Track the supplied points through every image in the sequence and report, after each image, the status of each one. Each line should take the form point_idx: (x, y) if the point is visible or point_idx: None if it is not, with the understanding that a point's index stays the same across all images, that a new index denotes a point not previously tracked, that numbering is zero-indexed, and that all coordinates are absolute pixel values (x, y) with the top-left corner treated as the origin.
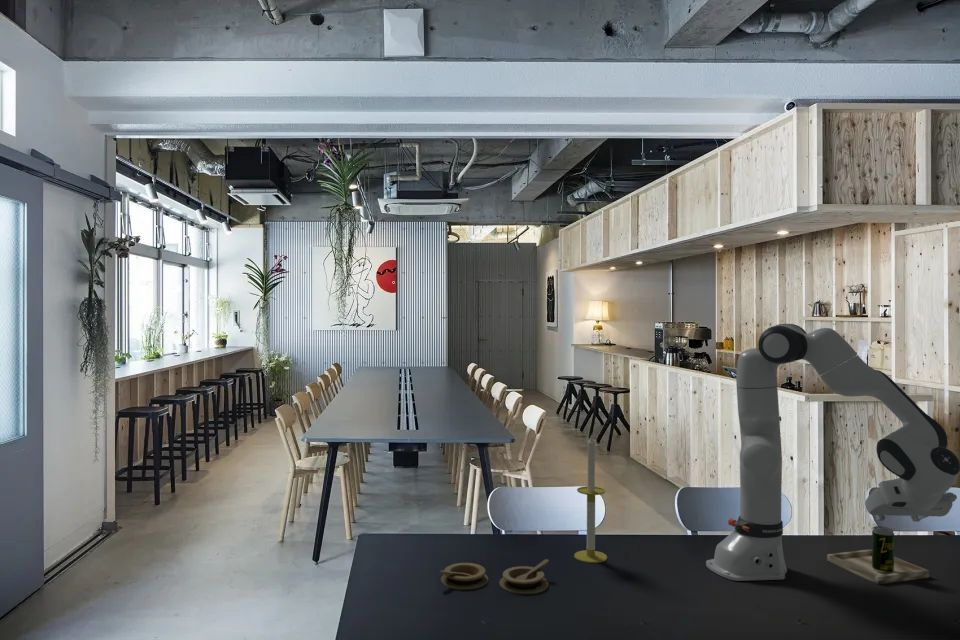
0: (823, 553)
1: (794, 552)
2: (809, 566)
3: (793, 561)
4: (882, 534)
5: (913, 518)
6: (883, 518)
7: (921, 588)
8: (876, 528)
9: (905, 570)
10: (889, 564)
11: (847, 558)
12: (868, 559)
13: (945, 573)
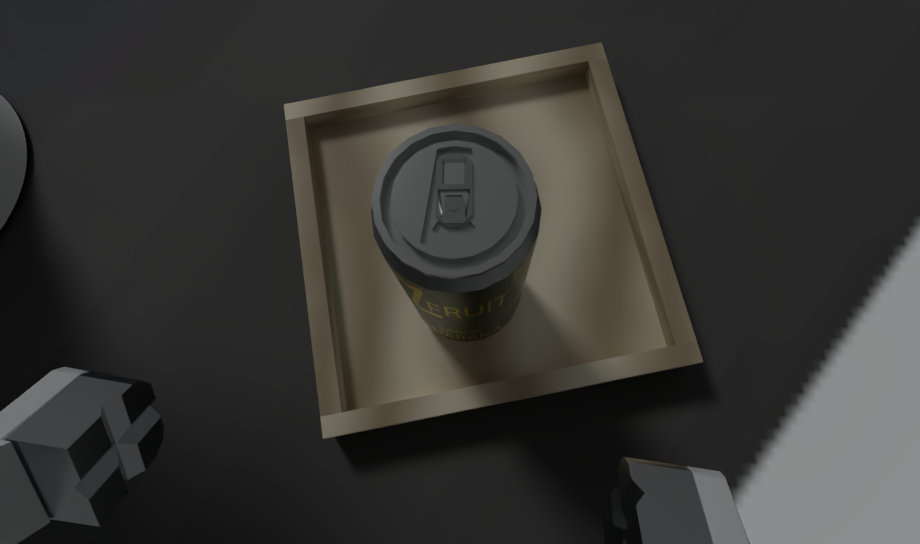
0: (349, 33)
1: (218, 17)
2: (159, 182)
3: (129, 119)
4: (399, 272)
5: (617, 532)
6: (84, 511)
7: (540, 511)
8: (400, 181)
9: (598, 296)
10: (465, 335)
11: (395, 122)
12: None
13: (823, 315)
